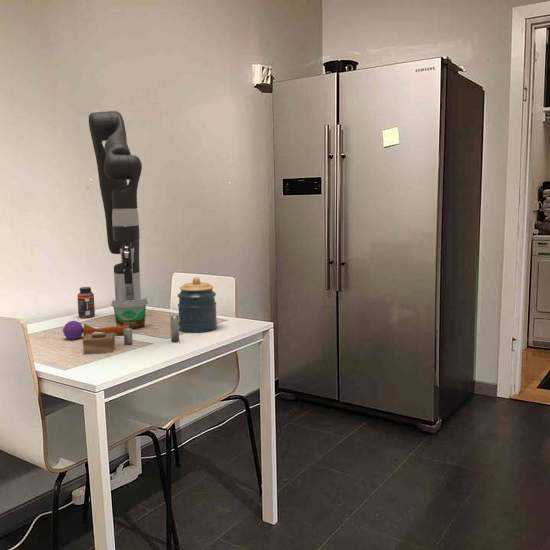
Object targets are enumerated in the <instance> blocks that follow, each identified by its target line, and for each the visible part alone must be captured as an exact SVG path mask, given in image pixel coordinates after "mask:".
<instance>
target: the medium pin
mask: <svg viewBox="0 0 550 550" xmlns="http://www.w3.org/2000/svg"><path fill="white" fill-rule="evenodd" d="M169 317H170V337H171V338H170V339H171V340H170V341H171V343H174V342H175V343H179V342H180V329H179V315H176V314H175V315H170V316H169ZM178 341H179V342H178Z"/></svg>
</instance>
